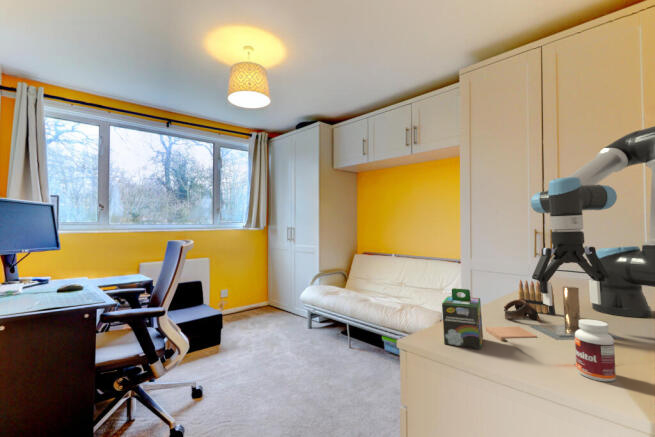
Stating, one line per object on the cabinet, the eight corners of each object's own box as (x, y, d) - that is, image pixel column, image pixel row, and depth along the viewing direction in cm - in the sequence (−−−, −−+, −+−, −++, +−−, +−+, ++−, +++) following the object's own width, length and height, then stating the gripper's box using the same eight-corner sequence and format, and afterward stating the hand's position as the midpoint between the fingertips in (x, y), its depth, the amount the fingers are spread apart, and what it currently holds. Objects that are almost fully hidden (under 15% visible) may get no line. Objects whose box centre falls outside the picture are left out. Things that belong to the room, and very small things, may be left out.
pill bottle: (569, 369, 66) (566, 318, 66) (594, 367, 66) (591, 317, 67) (597, 383, 60) (593, 327, 60) (625, 381, 60) (621, 325, 61)
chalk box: (483, 339, 85) (480, 286, 86) (481, 350, 77) (478, 292, 78) (448, 334, 90) (446, 284, 90) (443, 344, 82) (440, 289, 82)
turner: (586, 326, 90) (583, 284, 91) (610, 336, 82) (607, 289, 83) (538, 327, 91) (536, 285, 91) (558, 336, 83) (556, 290, 83)
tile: (518, 326, 91) (485, 327, 91) (537, 335, 83) (501, 336, 83) (518, 332, 91) (485, 332, 91) (537, 342, 83) (501, 342, 83)
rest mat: (587, 327, 92) (586, 324, 92) (624, 341, 80) (624, 338, 80) (527, 328, 93) (527, 325, 93) (556, 342, 81) (556, 339, 81)
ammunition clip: (518, 312, 110) (517, 279, 110) (520, 311, 111) (518, 279, 111) (554, 318, 102) (552, 282, 103) (555, 317, 103) (554, 282, 104)
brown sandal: (546, 329, 92) (532, 307, 93) (515, 338, 97) (501, 317, 97) (538, 310, 103) (525, 289, 103) (510, 319, 108) (497, 299, 108)
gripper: (532, 232, 84) (536, 308, 84) (622, 229, 84) (628, 306, 83) (515, 232, 92) (520, 302, 91) (598, 229, 91) (603, 299, 90)
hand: (571, 304), depth 87 cm, fingers open, 13 cm apart
